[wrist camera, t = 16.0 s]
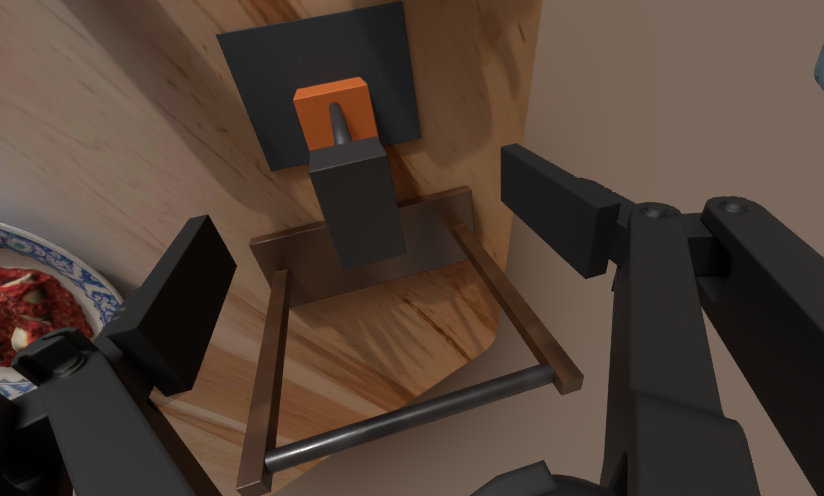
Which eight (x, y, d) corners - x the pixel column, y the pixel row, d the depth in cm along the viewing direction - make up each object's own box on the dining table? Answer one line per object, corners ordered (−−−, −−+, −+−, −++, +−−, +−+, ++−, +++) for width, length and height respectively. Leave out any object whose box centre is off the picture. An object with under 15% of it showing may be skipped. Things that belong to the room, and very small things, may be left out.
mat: (401, 1, 30) (402, 1, 30) (420, 136, 37) (420, 137, 36) (216, 34, 28) (215, 34, 28) (271, 170, 35) (271, 171, 35)
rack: (467, 185, 41) (611, 329, 21) (471, 251, 47) (588, 416, 27) (250, 238, 38) (177, 465, 18) (282, 302, 44) (254, 530, 24)
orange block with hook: (359, 76, 32) (419, 133, 13) (373, 139, 35) (435, 254, 17) (296, 89, 31) (267, 168, 13) (316, 152, 35) (315, 287, 16)
